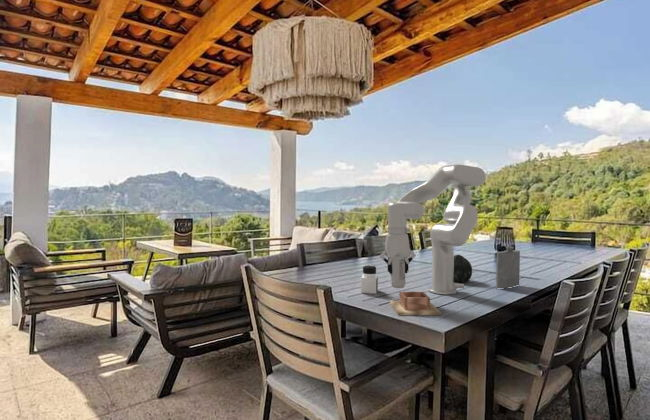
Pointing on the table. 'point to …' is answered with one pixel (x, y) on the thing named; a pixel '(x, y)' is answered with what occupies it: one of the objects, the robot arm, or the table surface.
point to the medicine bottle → (369, 280)
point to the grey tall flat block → (508, 268)
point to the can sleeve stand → (414, 304)
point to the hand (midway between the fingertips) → (398, 272)
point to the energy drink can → (398, 271)
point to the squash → (461, 269)
